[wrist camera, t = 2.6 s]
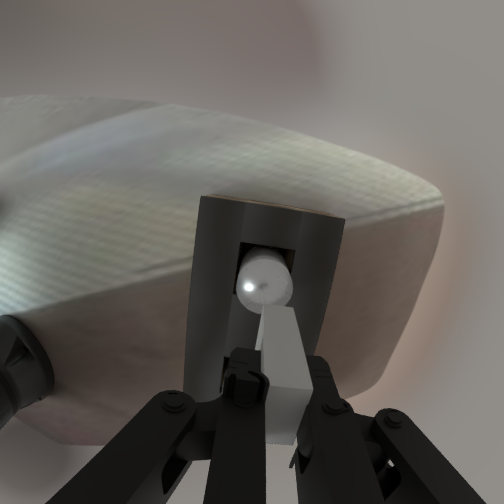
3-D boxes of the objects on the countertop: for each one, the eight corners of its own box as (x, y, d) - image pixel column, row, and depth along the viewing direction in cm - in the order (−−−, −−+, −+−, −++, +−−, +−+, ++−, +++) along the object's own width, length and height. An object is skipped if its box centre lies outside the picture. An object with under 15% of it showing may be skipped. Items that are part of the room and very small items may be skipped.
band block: (192, 377, 34) (182, 407, 28) (211, 194, 30) (200, 196, 24) (288, 390, 34) (292, 422, 28) (328, 213, 30) (345, 219, 24)
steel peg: (237, 285, 27) (232, 309, 21) (244, 242, 26) (240, 256, 21) (281, 292, 27) (287, 317, 21) (289, 249, 26) (297, 265, 21)
